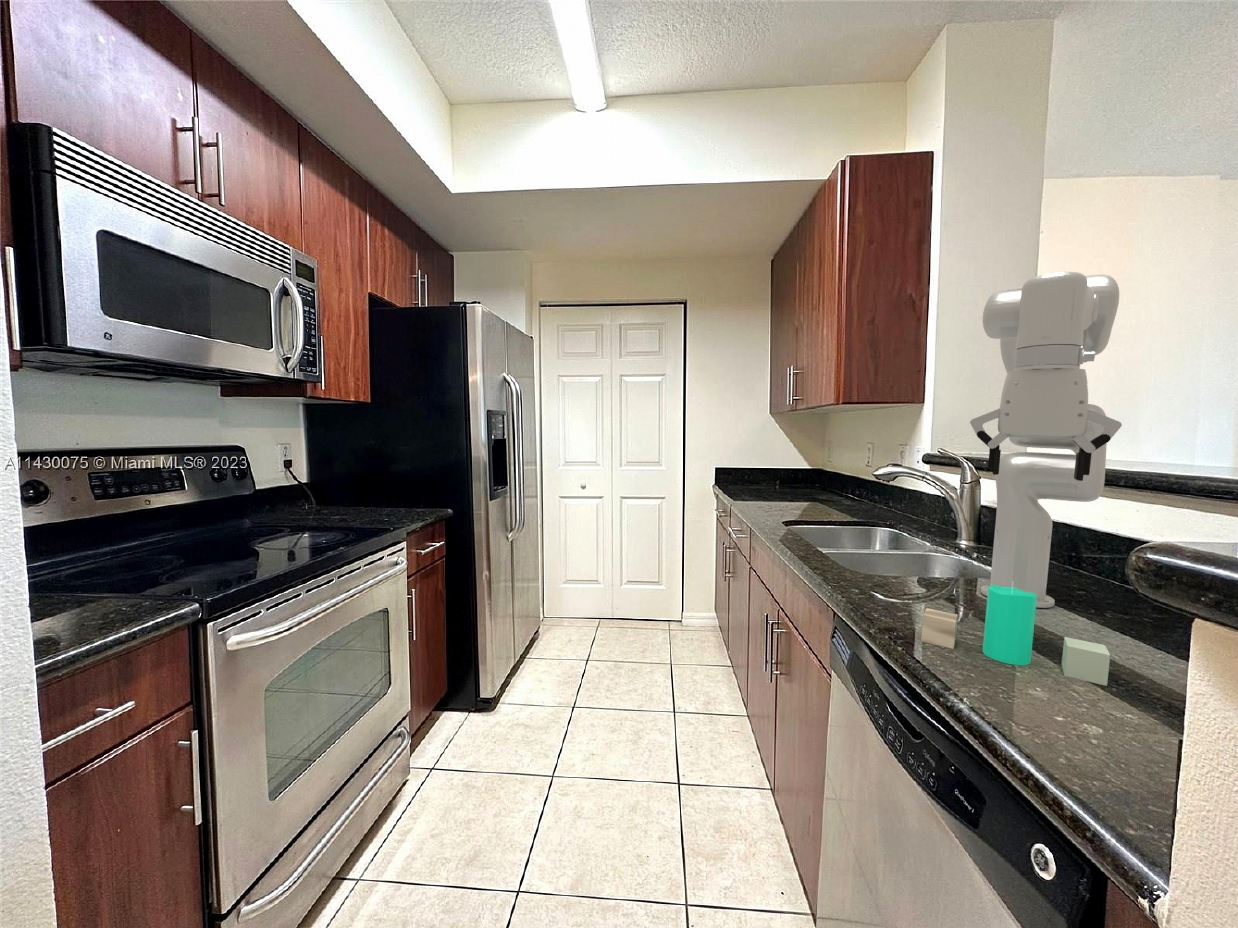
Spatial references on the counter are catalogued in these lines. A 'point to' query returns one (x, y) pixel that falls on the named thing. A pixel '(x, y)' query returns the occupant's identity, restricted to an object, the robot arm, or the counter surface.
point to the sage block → (1085, 661)
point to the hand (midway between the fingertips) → (1035, 477)
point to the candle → (1009, 625)
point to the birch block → (939, 628)
